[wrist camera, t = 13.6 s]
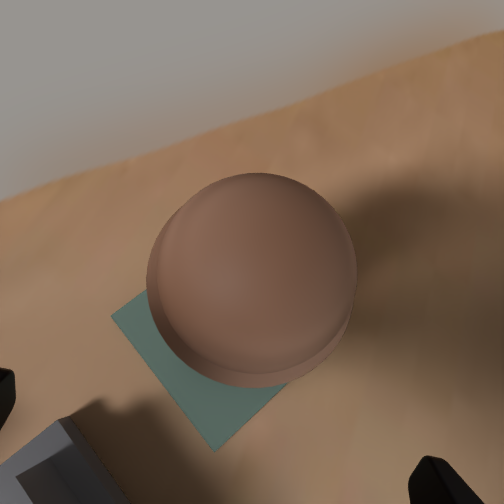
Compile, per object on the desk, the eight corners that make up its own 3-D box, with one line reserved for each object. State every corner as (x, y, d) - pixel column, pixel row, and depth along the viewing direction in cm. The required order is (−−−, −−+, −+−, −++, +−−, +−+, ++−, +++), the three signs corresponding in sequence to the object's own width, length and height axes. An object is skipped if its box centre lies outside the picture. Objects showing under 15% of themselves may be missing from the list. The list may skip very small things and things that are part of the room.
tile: (333, 337, 20) (336, 337, 20) (214, 450, 18) (214, 452, 17) (235, 224, 21) (236, 222, 21) (112, 316, 19) (110, 315, 18)
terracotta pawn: (293, 316, 20) (456, 218, 7) (236, 401, 18) (317, 466, 6) (216, 259, 20) (242, 72, 8) (153, 338, 18) (55, 266, 6)
